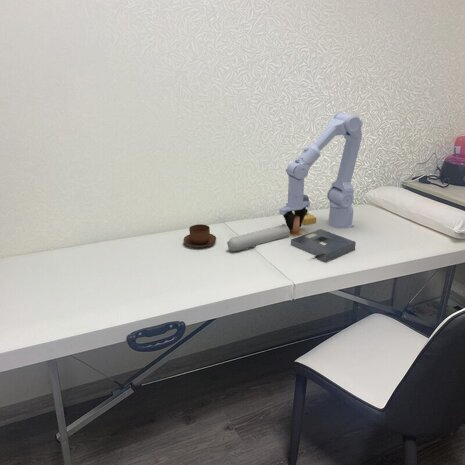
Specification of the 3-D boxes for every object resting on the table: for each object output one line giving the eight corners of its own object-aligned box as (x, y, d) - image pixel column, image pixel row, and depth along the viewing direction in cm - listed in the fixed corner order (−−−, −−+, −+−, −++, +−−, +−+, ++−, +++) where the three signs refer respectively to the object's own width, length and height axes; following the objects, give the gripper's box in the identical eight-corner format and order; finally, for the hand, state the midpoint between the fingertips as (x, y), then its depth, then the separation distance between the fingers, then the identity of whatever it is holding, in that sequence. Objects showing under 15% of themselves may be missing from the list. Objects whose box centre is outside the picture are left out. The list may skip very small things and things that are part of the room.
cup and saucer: (177, 246, 158) (176, 230, 155) (195, 235, 168) (194, 220, 165) (205, 252, 153) (205, 236, 150) (222, 240, 162) (221, 225, 160)
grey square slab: (319, 236, 165) (320, 228, 164) (354, 249, 154) (355, 241, 153) (290, 247, 156) (290, 239, 155) (325, 262, 144) (326, 253, 143)
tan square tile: (293, 228, 173) (293, 226, 172) (308, 234, 167) (308, 232, 167) (278, 233, 168) (279, 231, 168) (294, 239, 162) (294, 237, 162)
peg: (293, 228, 170) (294, 214, 167) (301, 231, 167) (302, 217, 165) (286, 231, 167) (287, 216, 165) (294, 234, 165) (294, 219, 162)
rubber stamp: (290, 220, 182) (292, 192, 177) (302, 218, 184) (303, 190, 180) (304, 227, 174) (306, 199, 169) (316, 225, 176) (318, 197, 171)
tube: (231, 256, 152) (288, 240, 163) (233, 244, 148) (291, 229, 160) (223, 247, 155) (280, 232, 167) (225, 235, 152) (283, 221, 163)
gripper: (301, 188, 169) (299, 220, 174) (274, 195, 160) (273, 229, 165) (315, 192, 163) (312, 225, 169) (287, 200, 155) (286, 235, 160)
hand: (293, 228), depth 167 cm, fingers closed on peg, 4 cm apart
